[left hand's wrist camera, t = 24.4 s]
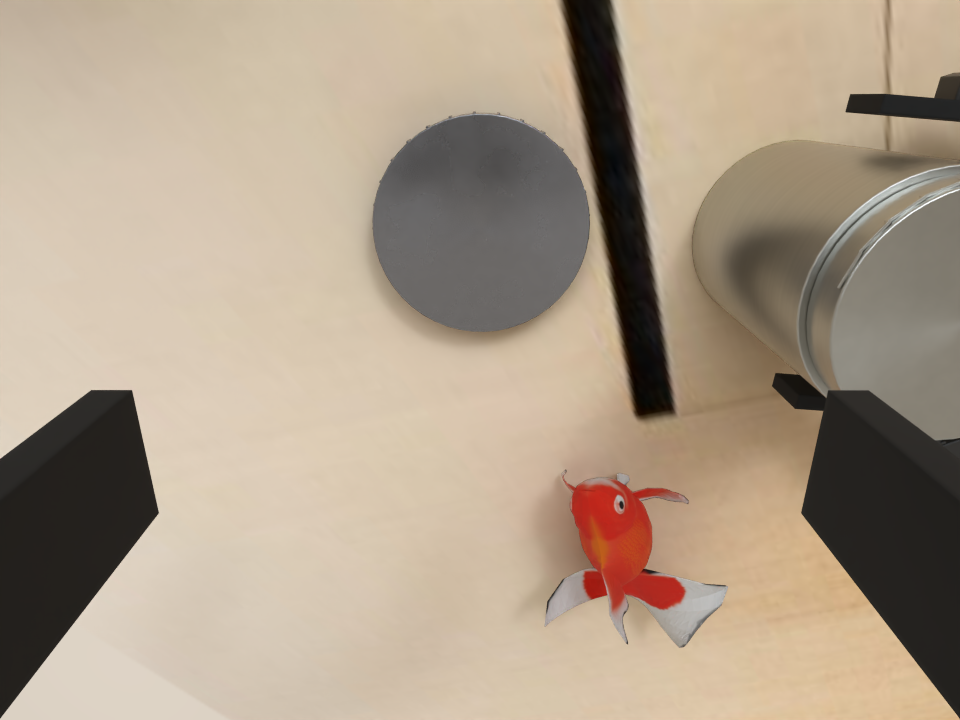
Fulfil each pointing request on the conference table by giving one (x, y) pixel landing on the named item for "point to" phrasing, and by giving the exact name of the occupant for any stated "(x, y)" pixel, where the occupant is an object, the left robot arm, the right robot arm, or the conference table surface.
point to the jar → (844, 269)
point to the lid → (481, 222)
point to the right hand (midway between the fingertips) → (820, 258)
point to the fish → (629, 561)
